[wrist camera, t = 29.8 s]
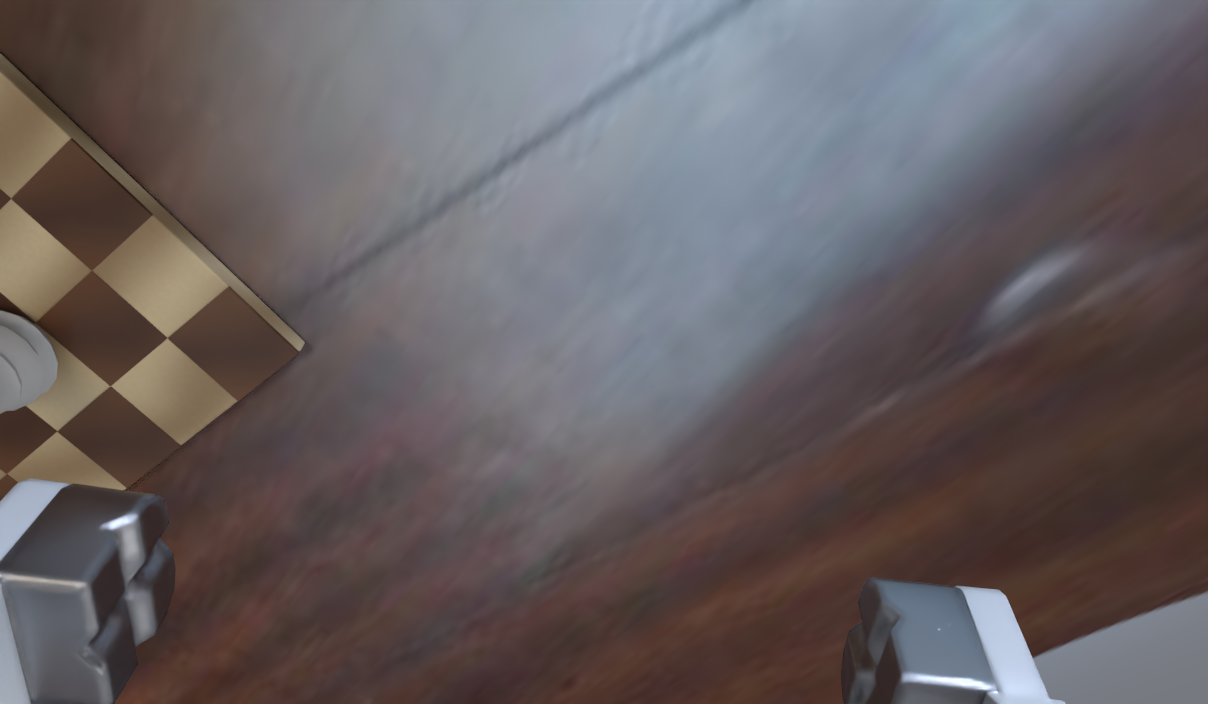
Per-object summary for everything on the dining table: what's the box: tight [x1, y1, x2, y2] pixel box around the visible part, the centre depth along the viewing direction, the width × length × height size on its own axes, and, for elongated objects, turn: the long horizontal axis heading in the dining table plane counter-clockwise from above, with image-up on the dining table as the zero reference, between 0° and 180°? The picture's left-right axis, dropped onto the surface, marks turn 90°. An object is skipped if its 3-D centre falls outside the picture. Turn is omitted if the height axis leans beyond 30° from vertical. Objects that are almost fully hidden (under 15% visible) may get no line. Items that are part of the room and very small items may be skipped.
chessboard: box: [0, 53, 305, 501], centre depth 44 cm, size 16×20×1 cm
